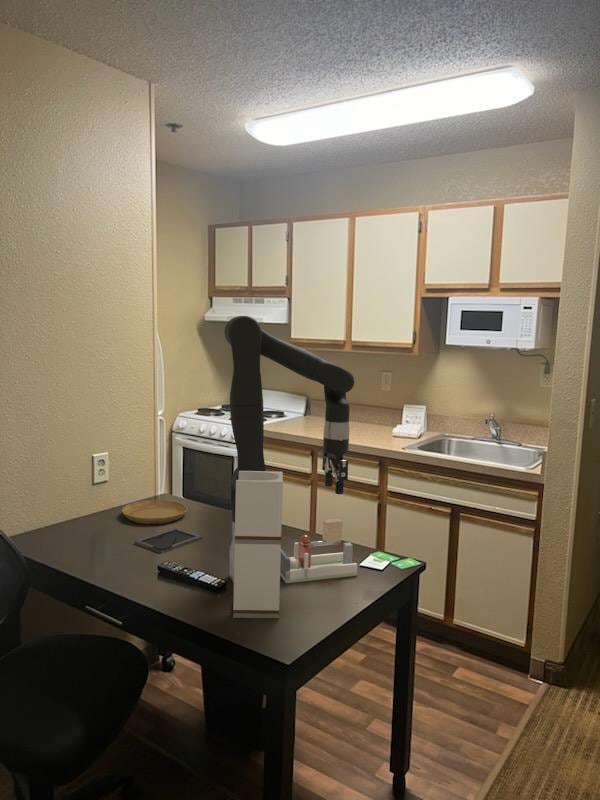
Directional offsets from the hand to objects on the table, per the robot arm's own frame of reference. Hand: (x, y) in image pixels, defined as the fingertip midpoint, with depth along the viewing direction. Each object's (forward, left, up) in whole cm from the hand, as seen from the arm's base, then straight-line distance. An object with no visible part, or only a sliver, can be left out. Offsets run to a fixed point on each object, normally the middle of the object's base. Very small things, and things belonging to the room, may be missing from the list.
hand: (333, 490), depth 180 cm
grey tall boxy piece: (-28, -18, -25) cm, 41 cm away
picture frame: (-44, +37, -26) cm, 63 cm away
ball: (-12, 0, -22) cm, 25 cm away
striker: (-4, 0, -23) cm, 23 cm away
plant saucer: (-46, +66, -26) cm, 84 cm away
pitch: (-5, 0, -25) cm, 25 cm away
